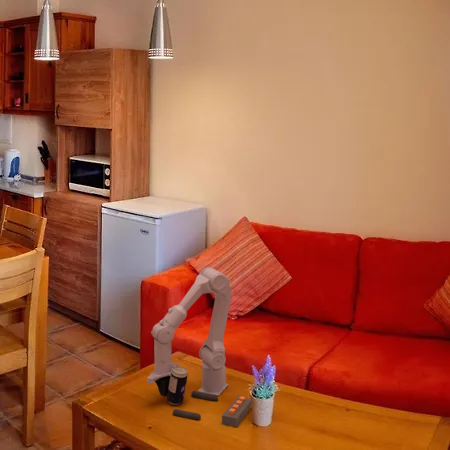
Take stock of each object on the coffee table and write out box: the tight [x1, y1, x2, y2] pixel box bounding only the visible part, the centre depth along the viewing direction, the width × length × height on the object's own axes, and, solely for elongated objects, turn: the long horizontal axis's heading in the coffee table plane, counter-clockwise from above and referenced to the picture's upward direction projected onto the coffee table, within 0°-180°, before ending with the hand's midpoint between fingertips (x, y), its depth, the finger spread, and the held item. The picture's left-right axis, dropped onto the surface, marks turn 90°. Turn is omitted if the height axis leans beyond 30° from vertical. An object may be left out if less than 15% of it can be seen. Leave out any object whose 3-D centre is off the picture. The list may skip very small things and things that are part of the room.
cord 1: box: [172, 408, 202, 421], centre depth 200 cm, size 2×10×2 cm, turn 68°
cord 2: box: [190, 390, 219, 402], centre depth 213 cm, size 2×10×2 cm, turn 67°
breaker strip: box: [221, 396, 251, 428], centre depth 201 cm, size 14×5×4 cm, turn 157°
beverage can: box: [166, 366, 189, 406], centre depth 208 cm, size 6×6×12 cm
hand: (163, 395), depth 211 cm, fingers closed
